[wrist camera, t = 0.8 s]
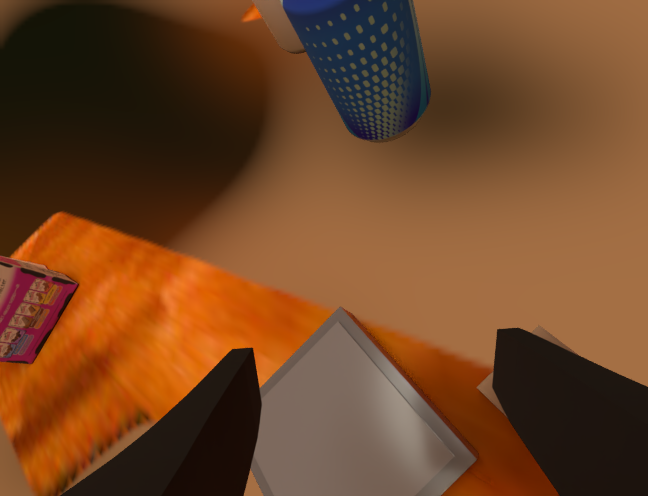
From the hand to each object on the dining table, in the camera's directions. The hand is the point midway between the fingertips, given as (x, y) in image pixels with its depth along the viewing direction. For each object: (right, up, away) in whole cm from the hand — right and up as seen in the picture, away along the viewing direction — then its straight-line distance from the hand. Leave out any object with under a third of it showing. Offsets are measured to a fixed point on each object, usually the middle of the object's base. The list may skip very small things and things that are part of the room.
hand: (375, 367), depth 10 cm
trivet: (0, -10, +14) cm, 17 cm away
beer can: (+5, +17, +23) cm, 29 cm away
